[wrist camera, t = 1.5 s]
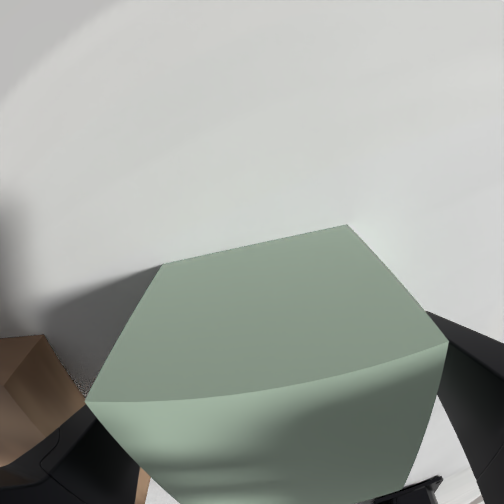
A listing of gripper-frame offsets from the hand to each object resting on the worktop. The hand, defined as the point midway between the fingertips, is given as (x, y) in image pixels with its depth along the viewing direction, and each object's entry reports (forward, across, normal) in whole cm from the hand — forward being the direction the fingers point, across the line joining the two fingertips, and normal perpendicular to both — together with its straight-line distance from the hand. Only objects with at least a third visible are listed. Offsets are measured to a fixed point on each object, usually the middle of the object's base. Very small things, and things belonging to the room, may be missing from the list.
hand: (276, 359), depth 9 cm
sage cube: (+2, 0, 0) cm, 2 cm away
